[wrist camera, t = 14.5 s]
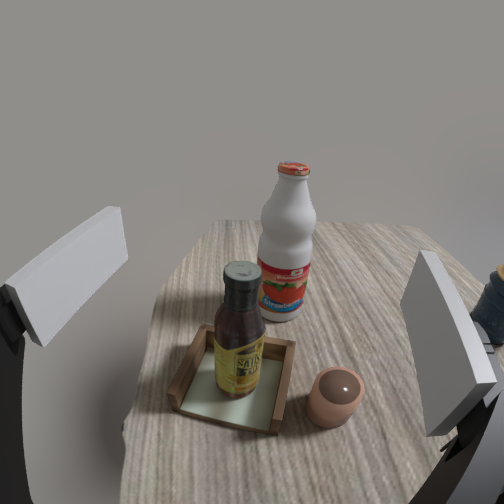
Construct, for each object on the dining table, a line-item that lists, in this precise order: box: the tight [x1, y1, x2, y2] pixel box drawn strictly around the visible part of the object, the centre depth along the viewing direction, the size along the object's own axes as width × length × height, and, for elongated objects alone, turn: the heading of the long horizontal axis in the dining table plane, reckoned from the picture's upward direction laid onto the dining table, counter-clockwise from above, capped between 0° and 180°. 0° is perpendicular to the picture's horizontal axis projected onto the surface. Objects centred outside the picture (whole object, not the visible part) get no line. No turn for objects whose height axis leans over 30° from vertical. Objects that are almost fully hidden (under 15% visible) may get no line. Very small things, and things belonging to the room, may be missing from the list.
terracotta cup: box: [306, 367, 364, 428], centre depth 36 cm, size 7×7×6 cm
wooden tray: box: [167, 324, 296, 436], centre depth 40 cm, size 15×14×5 cm
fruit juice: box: [257, 162, 316, 322], centre depth 51 cm, size 9×9×28 cm
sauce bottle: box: [214, 261, 266, 398], centre depth 35 cm, size 6×6×20 cm
